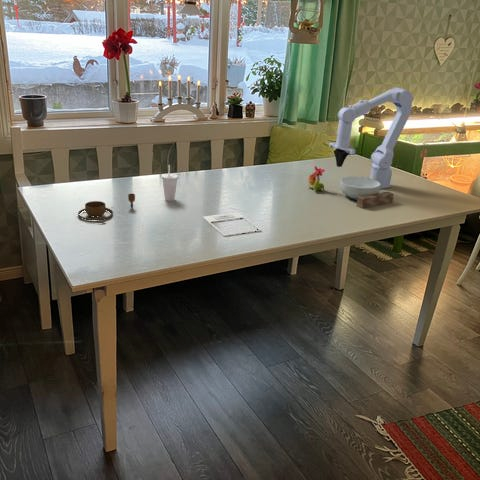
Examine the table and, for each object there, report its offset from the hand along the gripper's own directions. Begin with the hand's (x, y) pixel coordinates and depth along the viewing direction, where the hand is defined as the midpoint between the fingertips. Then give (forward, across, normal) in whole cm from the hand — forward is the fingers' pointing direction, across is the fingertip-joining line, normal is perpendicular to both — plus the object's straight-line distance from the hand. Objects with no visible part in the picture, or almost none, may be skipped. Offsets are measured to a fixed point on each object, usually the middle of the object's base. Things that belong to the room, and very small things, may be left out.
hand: (339, 166), depth 226 cm
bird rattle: (+10, 0, -13) cm, 16 cm away
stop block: (+9, +25, -2) cm, 27 cm away
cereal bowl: (+10, +15, -2) cm, 18 cm away
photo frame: (+10, +19, -69) cm, 72 cm away
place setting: (+10, -6, -105) cm, 105 cm away
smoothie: (+9, -13, -77) cm, 79 cm away
